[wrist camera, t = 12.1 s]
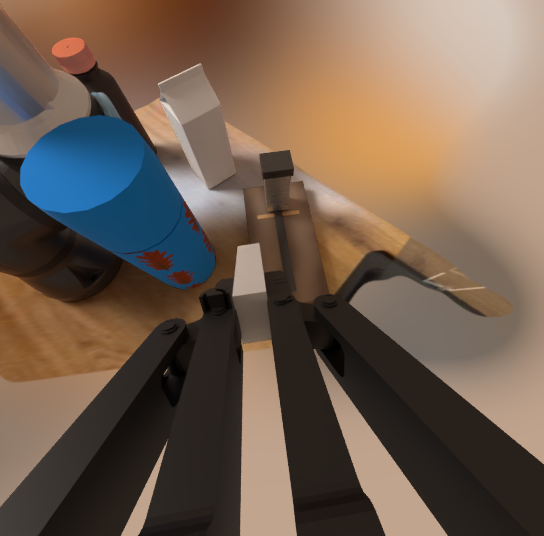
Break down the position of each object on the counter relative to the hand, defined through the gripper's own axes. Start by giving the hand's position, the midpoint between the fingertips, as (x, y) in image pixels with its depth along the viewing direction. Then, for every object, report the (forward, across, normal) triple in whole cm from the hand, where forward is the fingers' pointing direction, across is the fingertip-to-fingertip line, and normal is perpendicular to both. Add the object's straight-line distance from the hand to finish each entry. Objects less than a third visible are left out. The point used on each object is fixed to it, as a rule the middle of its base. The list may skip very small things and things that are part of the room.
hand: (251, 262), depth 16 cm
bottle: (+46, -23, +10) cm, 53 cm away
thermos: (+26, -13, -9) cm, 31 cm away
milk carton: (+41, -7, +5) cm, 42 cm away
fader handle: (+30, +5, -2) cm, 30 cm away
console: (+27, +5, -9) cm, 28 cm away
